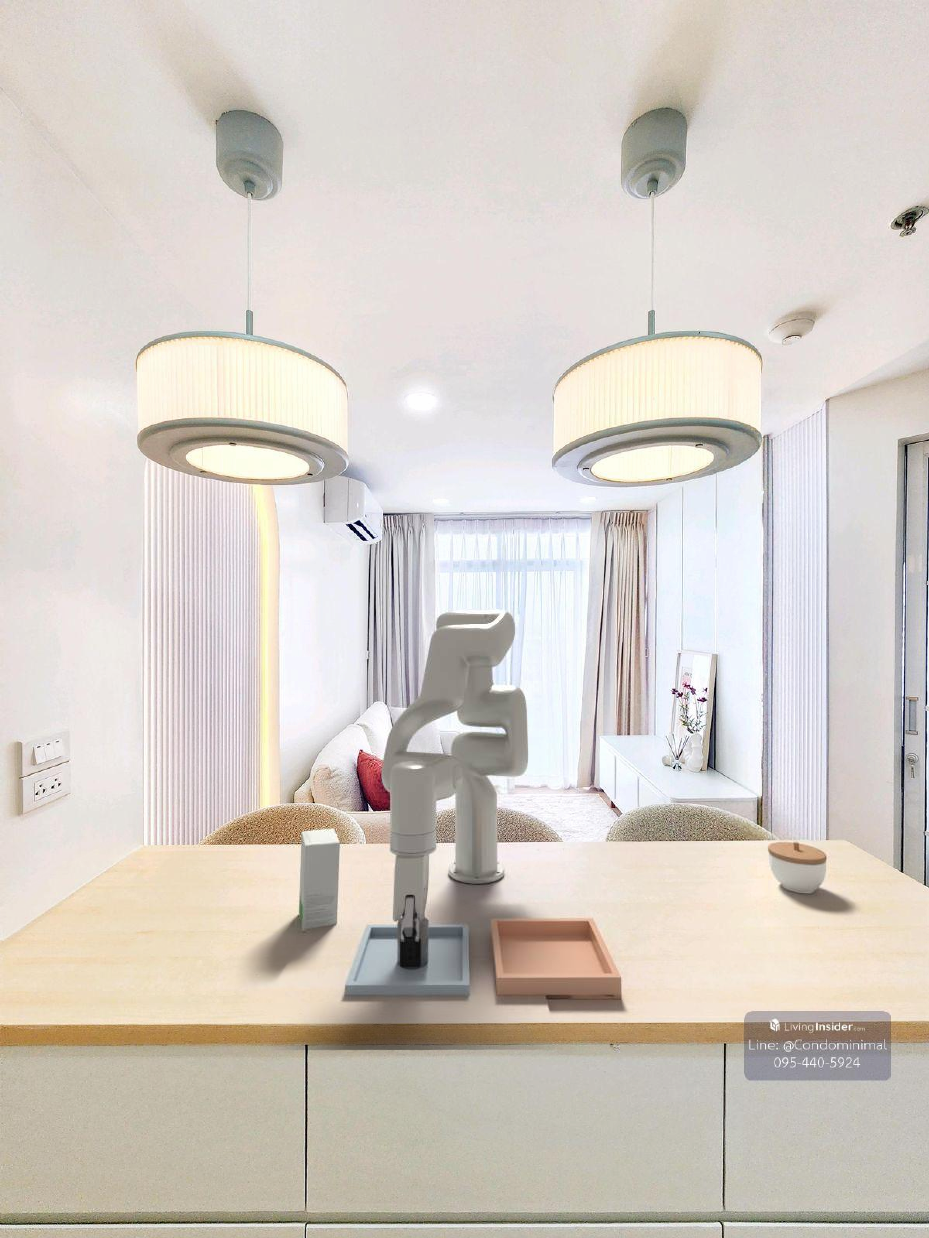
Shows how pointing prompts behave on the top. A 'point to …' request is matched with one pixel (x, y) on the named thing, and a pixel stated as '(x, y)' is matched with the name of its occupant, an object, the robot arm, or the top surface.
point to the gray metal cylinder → (422, 935)
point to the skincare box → (319, 878)
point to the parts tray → (386, 978)
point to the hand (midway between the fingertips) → (412, 951)
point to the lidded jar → (797, 866)
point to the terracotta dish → (553, 959)
